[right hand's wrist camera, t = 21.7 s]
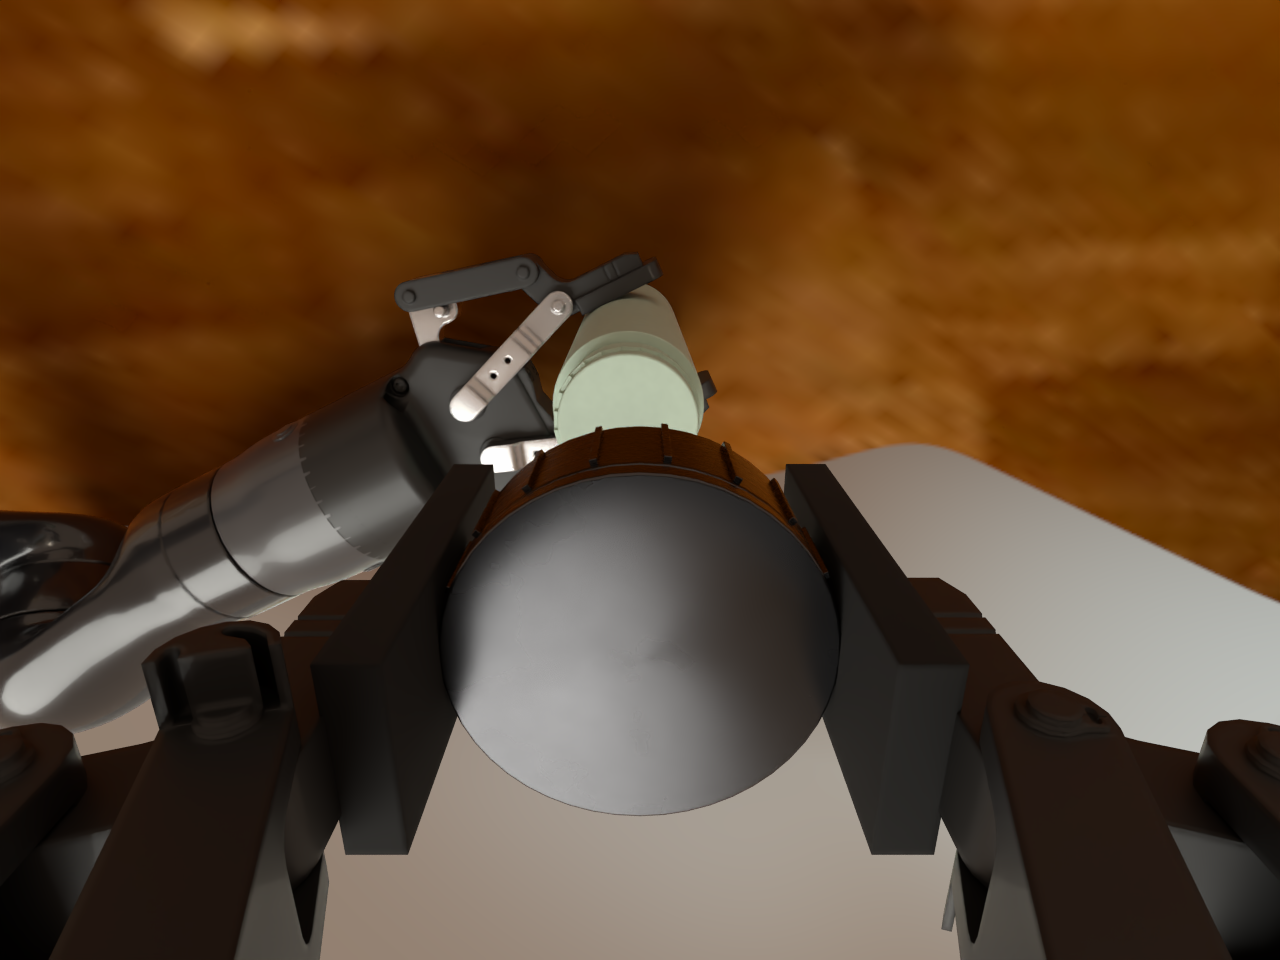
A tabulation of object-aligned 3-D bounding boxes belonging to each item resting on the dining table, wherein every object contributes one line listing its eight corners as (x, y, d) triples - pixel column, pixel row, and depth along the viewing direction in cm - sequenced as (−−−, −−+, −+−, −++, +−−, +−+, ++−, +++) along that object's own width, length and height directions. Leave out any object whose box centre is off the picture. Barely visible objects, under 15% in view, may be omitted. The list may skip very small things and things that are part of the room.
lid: (669, 776, 14) (674, 876, 12) (402, 612, 12) (356, 691, 10) (884, 559, 12) (933, 630, 10) (602, 346, 11) (593, 377, 9)
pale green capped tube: (665, 271, 36) (691, 324, 20) (685, 363, 38) (724, 481, 22) (573, 293, 37) (525, 363, 20) (596, 384, 38) (570, 515, 22)
